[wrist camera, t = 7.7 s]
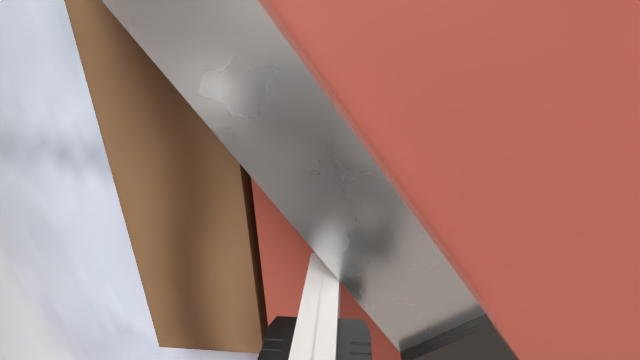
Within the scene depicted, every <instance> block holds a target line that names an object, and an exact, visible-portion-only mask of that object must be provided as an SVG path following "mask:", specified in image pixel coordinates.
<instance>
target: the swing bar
mask: <svg viewBox="0 0 640 360" xmlns="http://www.w3.org/2000/svg"><path fill="white" fill-rule="evenodd" d="M101 1H102V2H103V3H104V4H105V5H106V6H107V8H108V9H109V10H110V11H111V12H112V13H113V15H114V16H115V17H116V18H117V19H118V21H119V22H120V23H121V24H122V25H123V26H124V28H125V29H126V30H127V31H128V32H129V34H130V35H131V36H132V37H133V38H134V39H135V41H136V42H137V43H138V44H139V45H140V46H141V48H142V49H143V50H144V51H145V52H146V54H147V55H148V56H149V57H150V58H151V59H152V61H153V62H154V63H155V64H156V65H157V66H158V68H159V69H160V70H161V71H162V72H163V74H164V75H165V76H166V77H167V78H168V79H169V81H170V82H171V83H172V84H173V85H174V87H175V88H176V89H177V90H178V91H179V92H180V94H181V95H182V96H183V97H184V98H185V99H186V101H187V102H188V103H189V104H190V105H191V107H192V108H193V109H194V110H195V111H196V112H197V114H198V115H199V116H200V117H201V118H202V120H203V121H204V122H205V123H206V124H207V125H208V127H209V128H210V129H211V130H212V131H213V132H214V134H215V135H216V136H217V137H218V138H219V140H220V141H221V142H222V143H223V144H224V145H225V147H226V148H227V149H228V150H229V151H230V153H231V154H232V155H233V156H234V157H235V158H236V160H237V161H238V162H239V163H240V164H241V165H242V167H243V168H244V169H245V170H246V171H247V173H248V174H249V175H250V176H251V177H252V178H253V180H254V181H255V182H256V183H257V184H258V186H259V187H260V188H261V189H262V190H263V191H264V193H265V194H266V195H267V196H268V197H269V198H270V200H271V201H272V202H273V203H274V204H275V206H276V207H277V208H278V209H279V210H280V211H281V213H282V214H283V215H284V216H285V217H286V219H287V220H288V221H289V222H290V223H291V224H292V226H293V227H294V228H295V229H296V230H297V231H298V233H299V234H300V235H301V236H302V237H303V239H304V240H305V241H306V242H307V243H308V244H309V246H310V247H311V248H312V249H313V250H314V252H315V253H316V254H317V255H318V256H319V257H320V259H321V260H322V261H323V262H324V263H325V264H326V266H327V267H328V268H329V269H330V270H331V272H332V273H333V274H334V275H335V276H336V277H337V279H338V280H339V281H340V282H341V283H342V285H343V286H344V287H345V288H346V289H347V290H348V292H349V293H350V294H351V295H352V296H353V297H354V299H355V300H356V301H357V302H358V303H359V305H360V306H361V307H362V308H363V309H364V310H365V312H366V313H367V314H368V315H369V316H370V318H371V319H372V320H373V321H374V322H375V323H376V325H377V326H378V327H379V328H380V329H381V330H382V332H383V333H384V334H385V335H386V336H387V338H388V339H389V340H390V341H391V342H392V343H393V345H394V346H395V347H396V348H397V349H398V350H399V352H400V355H401V360H520V359H519V357H518V356H517V354H516V352H515V351H514V349H513V347H512V346H511V344H510V342H509V340H508V339H507V337H506V335H505V334H504V332H503V330H502V329H501V327H500V325H499V324H498V322H497V320H496V319H495V317H494V315H493V314H492V312H491V310H490V309H489V307H488V306H487V305H486V303H485V302H484V300H483V299H482V298H481V296H480V295H479V294H478V292H477V291H476V289H475V288H474V287H473V285H472V284H471V282H470V281H469V280H468V278H467V277H466V276H465V274H464V273H463V271H462V270H461V269H460V267H459V266H458V265H457V263H456V262H455V260H454V259H453V258H452V256H451V255H450V253H449V252H448V251H447V249H446V248H445V247H444V245H443V244H442V242H441V241H440V240H439V238H438V237H437V235H436V234H435V233H434V231H433V230H432V229H431V227H430V226H429V224H428V223H427V222H426V220H425V219H424V217H423V216H422V215H421V213H420V212H419V211H418V209H417V208H416V206H415V205H414V204H413V202H412V201H411V199H410V198H409V197H408V195H407V194H406V193H405V191H404V190H403V188H402V187H401V186H400V184H399V183H398V181H397V180H396V179H395V177H394V176H393V175H392V173H391V172H390V170H389V169H388V168H387V166H386V165H385V163H384V162H383V161H382V159H381V158H380V157H379V155H378V154H377V152H376V151H375V150H374V148H373V147H372V145H371V144H370V143H369V141H368V140H367V139H366V137H365V136H364V134H363V133H362V132H361V130H360V129H359V128H358V126H357V125H356V123H355V122H354V121H353V119H352V118H351V116H350V115H349V114H348V112H347V111H346V110H345V108H344V107H343V105H342V104H341V103H340V101H339V100H338V98H337V97H336V96H335V94H334V93H333V92H332V90H331V89H330V87H329V86H328V85H327V83H326V82H325V80H324V79H323V78H322V76H321V75H320V74H319V72H318V71H317V69H316V68H315V67H314V65H313V64H312V62H311V61H310V60H309V58H308V57H307V56H306V54H305V53H304V51H303V50H302V49H301V47H300V46H299V44H298V43H297V42H296V40H295V39H294V38H293V36H292V35H291V33H290V32H289V31H288V29H287V28H286V26H285V25H284V24H283V22H282V21H281V20H280V18H279V17H278V15H277V14H276V13H275V11H274V10H273V8H272V7H271V6H270V4H269V3H268V2H267V0H101Z"/></svg>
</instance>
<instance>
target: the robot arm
mask: <svg viewBox="0 0 640 360" xmlns="http://www.w3.org/2000/svg"><path fill="white" fill-rule="evenodd" d="M340 305H341V282H340V281H339V280H338V279H337V277H336V276H335V275H334V274H333V273H332V272H331V270H330V269H329V268H328V267H327V266H326V264H325V263H324V262H323V261H322V260H321V259H320V257H319V256H318V255H317V254H316V253H311V257H310V262H309V266H308V271H307V276H306V280H305V285H304V289H303V294H302V299H301V303H300V308H299V313H298V317H287V316H276V318H275V319H274V320H273V321H272V322H271V324H270V325H269V326H268V329H267V332H266V335H265V340H264V341H263V344H262V348H261V351H260V354H259V357H258V360H372V349H371V337H370V330H369V328H368V326H367V324H366V323H365V321H364V319H344V318H340Z"/></svg>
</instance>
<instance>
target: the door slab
mask: <svg viewBox="0 0 640 360" xmlns="http://www.w3.org/2000/svg"><path fill="white" fill-rule="evenodd" d="M267 2H268V3H269V4H270V6H271V7H272V8H273V10H274V11H275V13H276V14H277V15H278V17H279V18H280V20H281V21H282V22H283V24H284V25H285V26H286V28H287V29H288V31H289V32H290V33H291V35H292V36H293V38H294V39H295V40H296V42H297V43H298V44H299V46H300V47H301V49H302V50H303V51H304V53H305V54H306V56H307V57H308V58H309V60H310V61H311V62H312V64H313V65H314V67H315V68H316V69H317V71H318V72H319V74H320V75H321V76H322V78H323V79H324V80H325V82H326V83H327V85H328V86H329V87H330V89H331V90H332V92H333V93H334V94H335V96H336V97H337V98H338V100H339V101H340V103H341V104H342V105H343V107H344V108H345V110H346V111H347V112H348V114H349V115H350V116H351V118H352V119H353V121H354V122H355V123H356V125H357V126H358V128H359V129H360V130H361V132H362V133H363V134H364V136H365V137H366V139H367V140H368V141H369V143H370V144H371V145H372V147H373V148H374V150H375V151H376V152H377V154H378V155H379V157H380V158H381V159H382V161H383V162H384V163H385V165H386V166H387V168H388V169H389V170H390V172H391V173H392V175H393V176H394V177H395V179H396V180H397V181H398V183H399V184H400V186H401V187H402V188H403V190H404V191H405V193H406V194H407V195H408V197H409V198H410V199H411V201H412V202H413V204H414V205H415V206H416V208H417V209H418V211H419V212H420V213H421V215H422V216H423V217H424V219H425V220H426V222H427V223H428V224H429V226H430V227H431V229H432V230H433V231H434V233H435V234H436V235H437V237H438V238H439V240H440V241H441V242H442V244H443V245H444V247H445V248H446V249H447V251H448V252H449V253H450V255H451V256H452V258H453V259H454V260H455V262H456V263H457V265H458V266H459V267H460V269H461V270H462V271H463V273H464V274H465V276H466V277H467V278H468V280H469V281H470V282H471V284H472V285H473V287H474V288H475V289H476V291H477V292H478V294H479V295H480V296H481V298H482V299H483V300H484V302H485V303H486V305H487V306H488V307H489V309H490V310H491V312H492V314H493V315H494V317H495V319H496V320H497V322H498V324H499V325H500V327H501V329H502V330H503V332H504V334H505V335H506V337H507V339H508V340H509V342H510V344H511V346H512V347H513V349H514V351H515V352H516V354H517V356H518V357H519V359H520V360H640V0H267ZM251 182H252V190H253V199H254V208H255V216H256V225H257V234H258V242H259V251H260V260H261V268H262V277H263V286H264V294H265V303H266V312H267V320H268V326H269V325H270V324H271V322H272V321H273V320H274V319H275V318H276V316H287V317H298V313H299V308H300V303H301V299H302V294H303V289H304V285H305V280H306V276H307V271H308V266H309V262H310V257H311V253H315V252H314V250H313V249H312V248H311V247H310V246H309V244H308V243H307V242H306V241H305V240H304V239H303V237H302V236H301V235H300V234H299V233H298V231H297V230H296V229H295V228H294V227H293V226H292V224H291V223H290V222H289V221H288V220H287V219H286V217H285V216H284V215H283V214H282V213H281V211H280V210H279V209H278V208H277V207H276V206H275V204H274V203H273V202H272V201H271V200H270V198H269V197H268V196H267V195H266V194H265V193H264V191H263V190H262V189H261V188H260V187H259V186H258V184H257V183H256V182H255V181H254V180H253V178H252V177H251ZM340 318H344V319H364V321H365V323H366V324H367V326H368V328H369V330H370V337H371V349H372V360H401V355H400V352H399V350H398V349H397V348H396V347H395V346H394V345H393V343H392V342H391V341H390V340H389V339H388V338H387V336H386V335H385V334H384V333H383V332H382V330H381V329H380V328H379V327H378V326H377V325H376V323H375V322H374V321H373V320H372V319H371V318H370V316H369V315H368V314H367V313H366V312H365V310H364V309H363V308H362V307H361V306H360V305H359V303H358V302H357V301H356V300H355V299H354V297H353V296H352V295H351V294H350V293H349V292H348V290H347V289H346V288H345V287H344V286H343V285H342V283H341V305H340Z"/></svg>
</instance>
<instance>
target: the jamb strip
mask: <svg viewBox="0 0 640 360" xmlns="http://www.w3.org/2000/svg"><path fill="white" fill-rule="evenodd" d="M64 1H65V4H66V8H67V12H68V15H69V19H70V22H71V26H72V30H73V33H74V37H75V41H76V44H77V48H78V52H79V55H80V59H81V63H82V66H83V70H84V73H85V77H86V81H87V84H88V88H89V92H90V95H91V99H92V103H93V106H94V110H95V114H96V117H97V121H98V124H99V128H100V132H101V135H102V139H103V143H104V146H105V150H106V154H107V157H108V161H109V165H110V168H111V172H112V175H113V179H114V183H115V186H116V190H117V194H118V197H119V201H120V205H121V208H122V212H123V215H124V219H125V223H126V226H127V230H128V234H129V237H130V241H131V245H132V248H133V252H134V256H135V259H136V263H137V266H138V270H139V274H140V277H141V281H142V285H143V288H144V292H145V296H146V299H147V303H148V307H149V310H150V314H151V317H152V321H153V325H154V328H155V332H156V336H157V339H158V343H159V347H170V348H185V349H201V350H216V351H232V352H247V353H260V351H261V348H262V344H263V341H264V340H265V335H266V332H267V329H268V320H267V312H266V303H265V294H264V286H263V277H262V268H261V260H260V251H259V242H258V234H257V225H256V216H255V208H254V199H253V190H252V182H251V176H250V175H249V174H248V173H247V171H246V170H245V169H244V168H243V167H242V165H241V164H240V163H239V162H238V161H237V160H236V158H235V157H234V156H233V155H232V154H231V153H230V151H229V150H228V149H227V148H226V147H225V145H224V144H223V143H222V142H221V141H220V140H219V138H218V137H217V136H216V135H215V134H214V132H213V131H212V130H211V129H210V128H209V127H208V125H207V124H206V123H205V122H204V121H203V120H202V118H201V117H200V116H199V115H198V114H197V112H196V111H195V110H194V109H193V108H192V107H191V105H190V104H189V103H188V102H187V101H186V99H185V98H184V97H183V96H182V95H181V94H180V92H179V91H178V90H177V89H176V88H175V87H174V85H173V84H172V83H171V82H170V81H169V79H168V78H167V77H166V76H165V75H164V74H163V72H162V71H161V70H160V69H159V68H158V66H157V65H156V64H155V63H154V62H153V61H152V59H151V58H150V57H149V56H148V55H147V54H146V52H145V51H144V50H143V49H142V48H141V46H140V45H139V44H138V43H137V42H136V41H135V39H134V38H133V37H132V36H131V35H130V34H129V32H128V31H127V30H126V29H125V28H124V26H123V25H122V24H121V23H120V22H119V21H118V19H117V18H116V17H115V16H114V15H113V13H112V12H111V11H110V10H109V9H108V8H107V6H106V5H105V4H104V3H103V2H102V1H101V0H64Z"/></svg>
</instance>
